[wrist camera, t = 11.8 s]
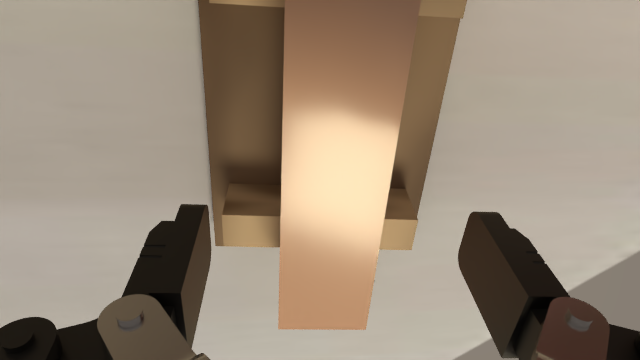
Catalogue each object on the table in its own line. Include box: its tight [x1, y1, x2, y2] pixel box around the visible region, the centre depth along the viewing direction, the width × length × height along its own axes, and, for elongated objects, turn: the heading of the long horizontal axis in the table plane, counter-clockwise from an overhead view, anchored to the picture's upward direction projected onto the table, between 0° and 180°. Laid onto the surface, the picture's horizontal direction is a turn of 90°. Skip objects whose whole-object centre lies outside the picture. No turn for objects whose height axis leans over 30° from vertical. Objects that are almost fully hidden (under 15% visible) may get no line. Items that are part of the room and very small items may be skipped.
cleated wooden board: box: [198, 0, 467, 250], centre depth 22 cm, size 12×19×4 cm, turn 176°
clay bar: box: [278, 0, 421, 330], centre depth 18 cm, size 16×4×4 cm, turn 176°
